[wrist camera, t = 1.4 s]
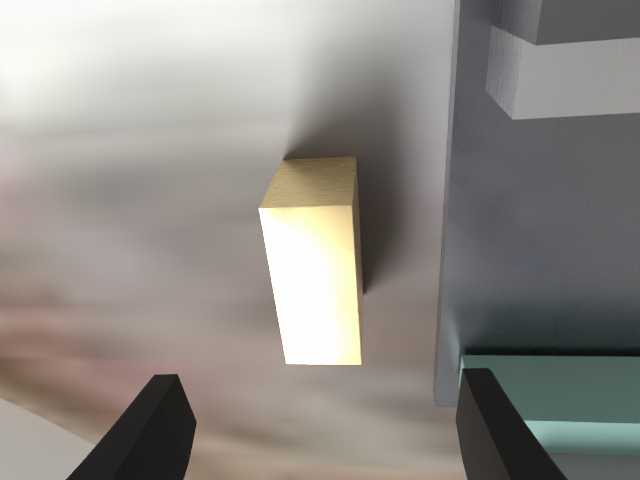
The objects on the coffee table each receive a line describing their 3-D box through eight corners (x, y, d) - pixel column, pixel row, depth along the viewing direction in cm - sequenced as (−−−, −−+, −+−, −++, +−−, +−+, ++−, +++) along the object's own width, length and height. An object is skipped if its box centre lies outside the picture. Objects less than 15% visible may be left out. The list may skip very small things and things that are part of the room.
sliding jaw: (672, 410, 21) (750, 525, 17) (456, 405, 23) (476, 510, 18) (697, 357, 20) (792, 470, 15) (461, 355, 21) (485, 458, 17)
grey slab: (676, 396, 23) (756, 507, 18) (433, 391, 24) (447, 492, 20) (902, -93, 13) (1219, -130, 8) (457, -47, 14) (500, -53, 9)
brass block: (356, 155, 18) (351, 205, 14) (363, 294, 22) (361, 364, 18) (282, 158, 18) (259, 208, 15) (301, 294, 22) (286, 363, 18)
